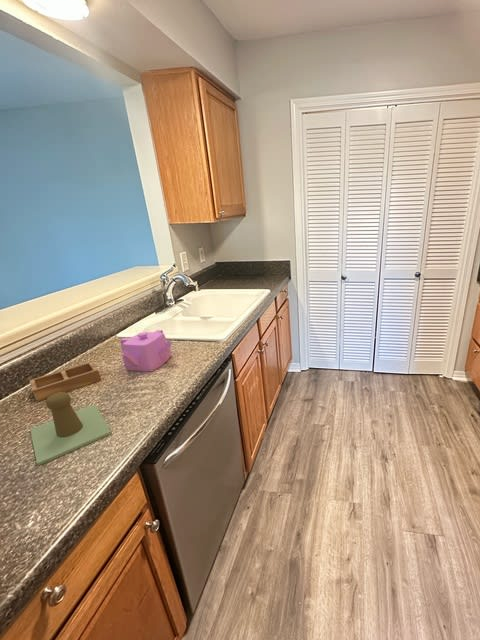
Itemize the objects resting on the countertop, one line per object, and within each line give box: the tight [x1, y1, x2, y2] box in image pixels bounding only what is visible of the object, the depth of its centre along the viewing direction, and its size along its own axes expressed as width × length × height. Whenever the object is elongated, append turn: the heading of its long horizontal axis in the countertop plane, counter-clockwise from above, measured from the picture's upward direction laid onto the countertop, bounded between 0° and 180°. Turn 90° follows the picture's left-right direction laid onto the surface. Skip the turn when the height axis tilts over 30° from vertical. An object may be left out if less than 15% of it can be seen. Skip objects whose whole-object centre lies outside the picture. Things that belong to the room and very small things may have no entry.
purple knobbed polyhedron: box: [120, 329, 173, 373], centre depth 122 cm, size 17×17×12 cm
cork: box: [45, 392, 83, 437], centre depth 85 cm, size 6×6×11 cm
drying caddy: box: [29, 360, 102, 403], centre depth 110 cm, size 10×18×4 cm, turn 132°
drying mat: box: [29, 403, 112, 466], centre depth 87 cm, size 18×16×1 cm
